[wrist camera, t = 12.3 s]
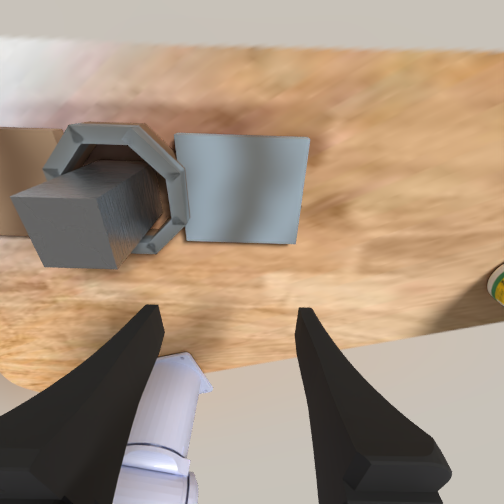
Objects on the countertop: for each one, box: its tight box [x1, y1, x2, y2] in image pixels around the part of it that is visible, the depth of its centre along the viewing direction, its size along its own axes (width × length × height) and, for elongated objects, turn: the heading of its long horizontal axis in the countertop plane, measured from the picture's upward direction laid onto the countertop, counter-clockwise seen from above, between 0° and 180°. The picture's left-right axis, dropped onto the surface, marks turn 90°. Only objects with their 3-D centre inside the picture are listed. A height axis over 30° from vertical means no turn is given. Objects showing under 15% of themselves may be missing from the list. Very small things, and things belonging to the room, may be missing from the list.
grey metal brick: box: [10, 160, 163, 269], centre depth 16 cm, size 4×4×8 cm
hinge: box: [0, 122, 310, 254], centre depth 19 cm, size 26×9×2 cm, turn 88°
